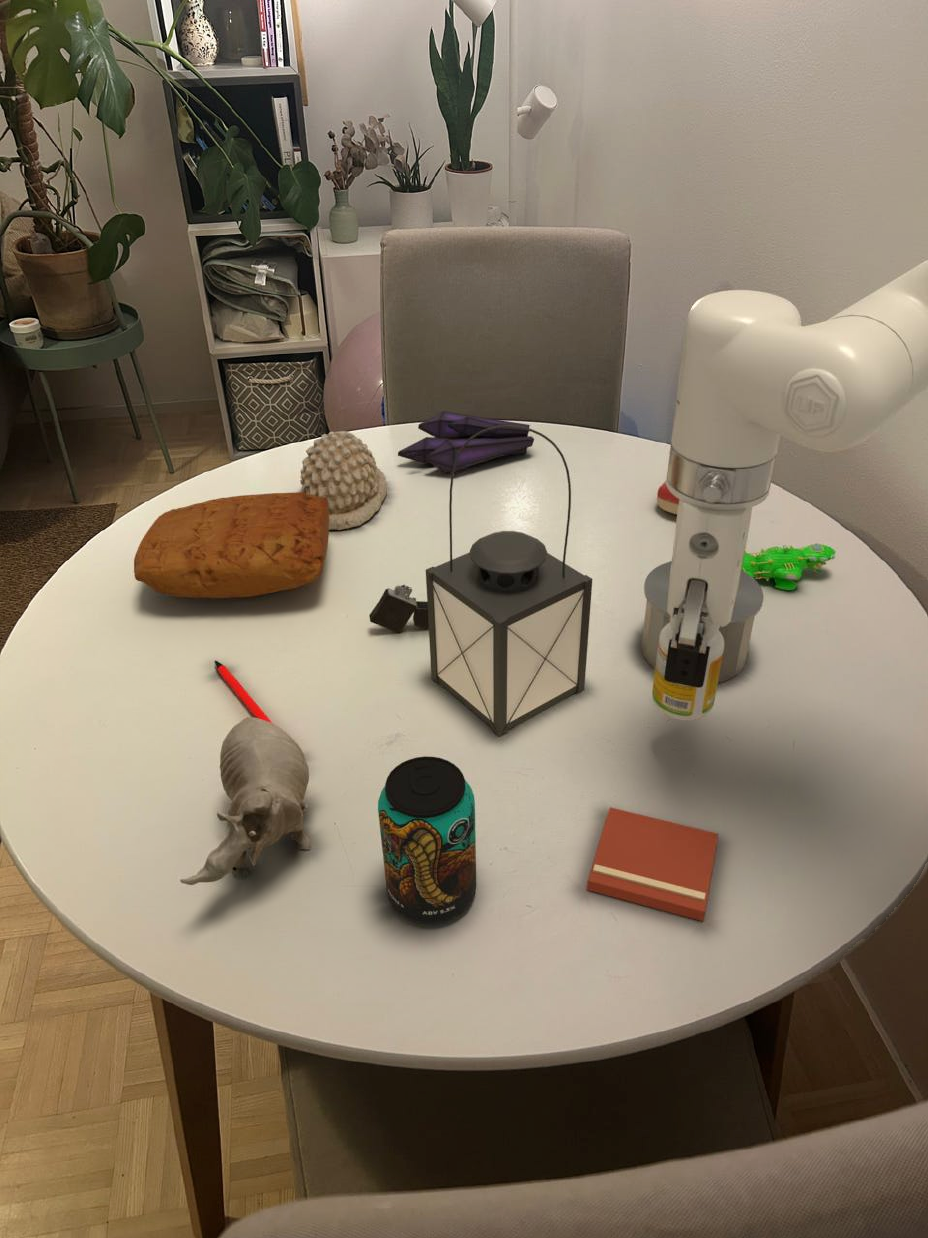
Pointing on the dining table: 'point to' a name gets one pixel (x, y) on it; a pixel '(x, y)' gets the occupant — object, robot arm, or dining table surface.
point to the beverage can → (428, 839)
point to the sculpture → (344, 478)
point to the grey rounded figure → (257, 796)
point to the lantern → (508, 624)
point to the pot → (733, 635)
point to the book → (654, 863)
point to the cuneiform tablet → (236, 546)
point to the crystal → (455, 433)
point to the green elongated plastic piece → (786, 563)
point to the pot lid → (745, 601)
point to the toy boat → (667, 499)
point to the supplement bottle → (685, 698)
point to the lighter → (399, 610)
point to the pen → (241, 692)
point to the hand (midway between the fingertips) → (689, 658)
